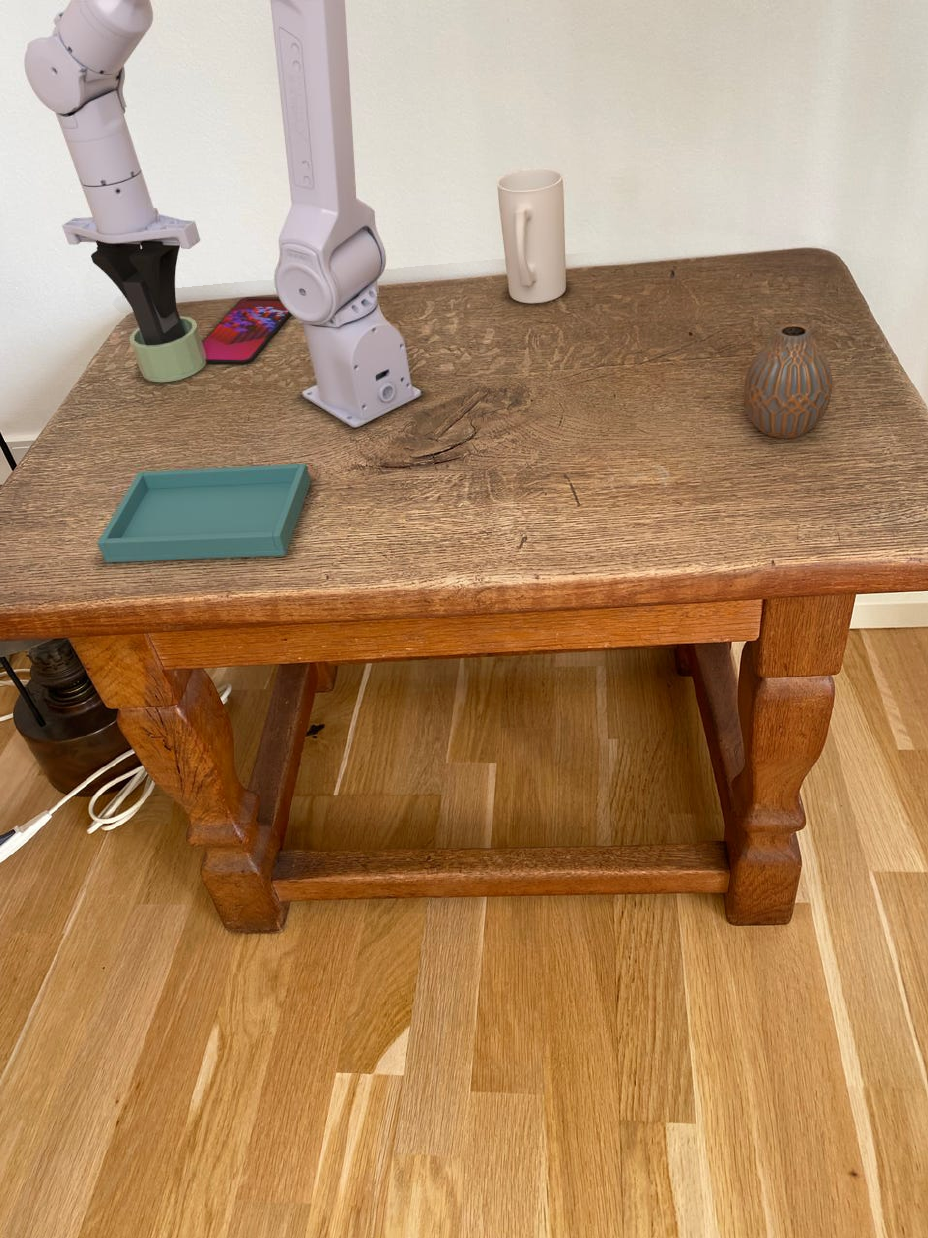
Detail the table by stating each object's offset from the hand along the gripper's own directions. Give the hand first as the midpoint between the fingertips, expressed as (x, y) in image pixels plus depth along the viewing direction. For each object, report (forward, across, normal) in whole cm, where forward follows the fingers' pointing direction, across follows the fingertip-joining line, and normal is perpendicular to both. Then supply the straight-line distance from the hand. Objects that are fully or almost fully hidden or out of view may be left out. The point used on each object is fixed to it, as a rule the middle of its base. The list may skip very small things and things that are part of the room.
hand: (157, 312), depth 104 cm
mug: (+6, -34, -20) cm, 40 cm away
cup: (+6, 0, 0) cm, 6 cm away
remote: (+5, 0, 0) cm, 5 cm away
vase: (+6, -63, +1) cm, 63 cm away
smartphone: (+7, -4, -9) cm, 12 cm away
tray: (+6, -20, +24) cm, 32 cm away
